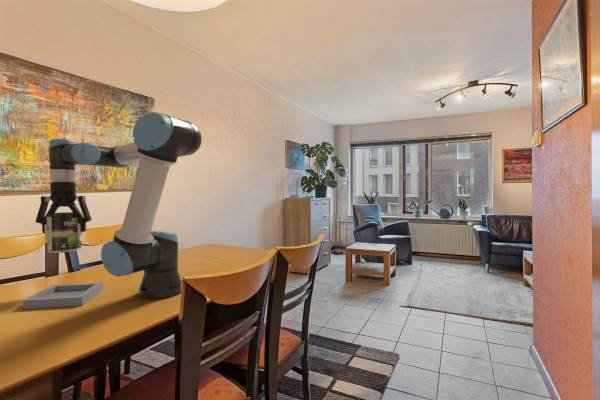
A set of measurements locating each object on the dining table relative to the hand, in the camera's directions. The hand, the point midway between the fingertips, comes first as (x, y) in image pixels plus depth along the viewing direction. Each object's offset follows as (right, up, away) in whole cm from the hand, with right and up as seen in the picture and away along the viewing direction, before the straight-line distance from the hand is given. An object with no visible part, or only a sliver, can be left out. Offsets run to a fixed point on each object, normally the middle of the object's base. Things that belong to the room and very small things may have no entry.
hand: (64, 241), depth 117 cm
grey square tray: (+5, -19, -6) cm, 21 cm away
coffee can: (0, -4, 0) cm, 4 cm away
